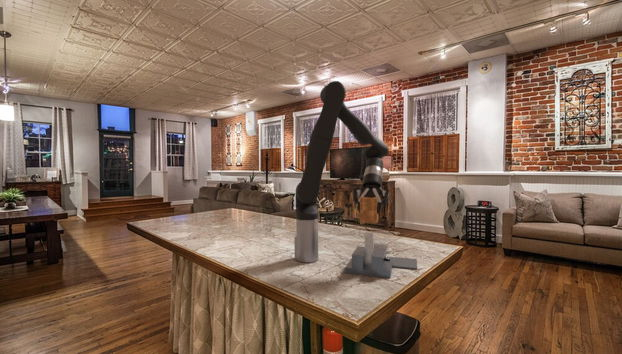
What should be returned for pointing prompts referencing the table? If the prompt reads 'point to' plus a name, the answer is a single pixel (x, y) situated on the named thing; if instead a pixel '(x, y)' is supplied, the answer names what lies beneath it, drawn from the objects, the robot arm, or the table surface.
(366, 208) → the sleeve
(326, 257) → the table surface
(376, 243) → the mechanical component
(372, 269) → the vise
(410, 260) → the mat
